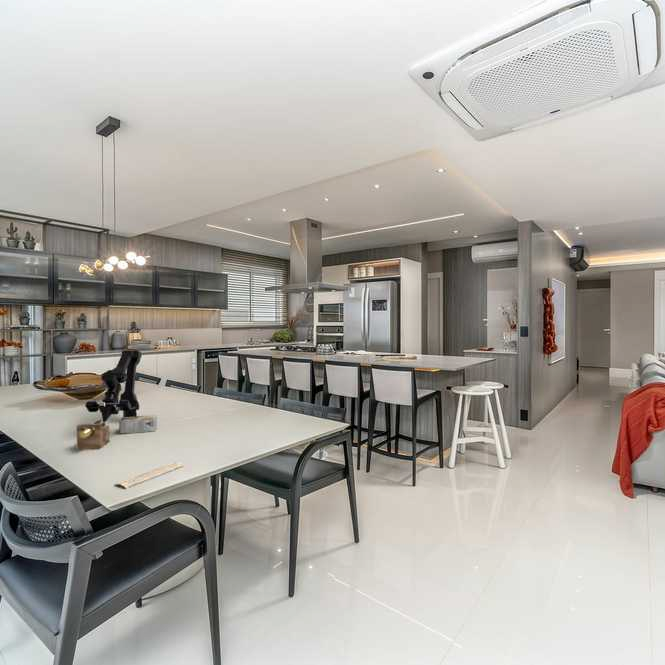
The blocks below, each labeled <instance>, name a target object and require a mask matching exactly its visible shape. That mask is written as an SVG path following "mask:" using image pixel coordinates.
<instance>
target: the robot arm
mask: <svg viewBox="0 0 665 665" xmlns="http://www.w3.org/2000/svg"><path fill="white" fill-rule="evenodd" d="M142 353H143V352H142V351H140V350H139V349H124V350H122V351H121V356H120V357H119V360H118V362H117V364H116V367H114V368H113V369H108V370H107V371H106V372H104V373H103V374H102V375H101V381H102V383H103V384H104V386H105V387H106V391H104V398H102V399H101V402H99V403H98V402H97V400H89V401H88V400H87V401H86V403H85V405H84V406H85V408H86V410H87V412H89V413H97V412H98V411H99V412H100V413H101V417H102V421H104V422H105V423H106V422H107V421H108V419H109V418H110V417H111V416H112V415H119V412H122V415H123V416H122V417H135V416H138V413H137V411H138V410H140V404H139V403H140V402H139V401H138V397H137V395H136V393H135V388H136V387H135V386H136V385H135V383H136V374H137V366H138V365H139V364H140V362H141V359H142V356H143V355H142ZM121 384H124V391H123V393H121V391H122V385H121Z"/></svg>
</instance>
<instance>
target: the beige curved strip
mask: <svg viewBox="0 0 665 665" xmlns="http://www.w3.org/2000/svg"><path fill="white" fill-rule="evenodd" d="M184 467H185V464H184V463H183V462H180V461H174V462H172V463H171V462H170V463H169V464H166V465H164V466H160V467H158V468H156V469H152V470H150V471H147V472H144V473H142V474H139V475H137V476H134V477H131V478H129V479H126V480H123V481H120V482H118V483H116V484H113V486H114V487H117V486H123V487H124V488H125V490H128V489H131V488H133V487H135V486H138V485H141V484H144V483H145V482H148V481H151V480H153V479H155V478H159V477H161V476H164V475H166V474H168V473H171V472H174V471H176V470H178V469H179V470H180V469H181V468H184Z"/></svg>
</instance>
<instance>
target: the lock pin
mask: <svg viewBox="0 0 665 665" xmlns="http://www.w3.org/2000/svg"><path fill="white" fill-rule="evenodd" d="M93 424H102V427H103V426H106V422H104V421H103V419H102V420H101V419H99V420H96V421H95V422H94V423H93ZM94 432H95V427H93V428H87V429H85V430H84V431H82V432H80V433H79V437H80V438H81V439H84V438H86V437H88V436H89V435H91V434H93V433H94Z"/></svg>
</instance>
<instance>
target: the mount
mask: <svg viewBox="0 0 665 665" xmlns="http://www.w3.org/2000/svg"><path fill="white" fill-rule="evenodd" d="M93 427H95V432H94V433H93V434H91V435H89V436H88V437H86V438H84V439H81V438H80V437H79V433H80V432H82V431H84V430H85V429H87V428H93ZM108 442H109V443H110V425H105V426H103V427H102V424H94V423H87V424H85V423H84V424H77V425H76V449H77V451H84V450H83V449H91V450H101V449H102V448H104V447H105V446H107V445H108V444H109V443H108ZM107 443H108V444H107ZM104 445H105V446H104ZM103 446H104V447H103ZM100 448H101V449H100Z"/></svg>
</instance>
